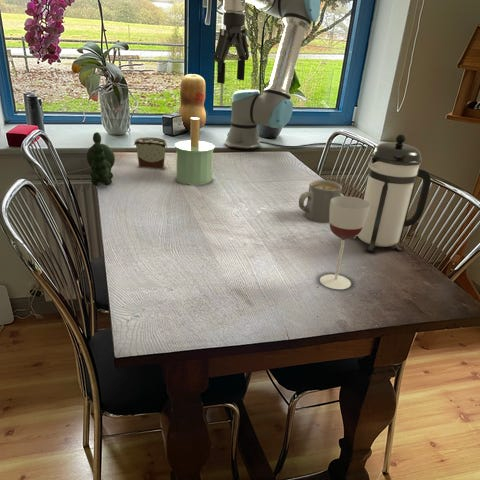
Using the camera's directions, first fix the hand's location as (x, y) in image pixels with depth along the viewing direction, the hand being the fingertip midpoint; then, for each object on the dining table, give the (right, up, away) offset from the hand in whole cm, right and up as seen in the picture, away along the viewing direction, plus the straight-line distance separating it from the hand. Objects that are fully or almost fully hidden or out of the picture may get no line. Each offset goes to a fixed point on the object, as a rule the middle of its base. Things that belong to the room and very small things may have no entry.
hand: (230, 81), depth 179 cm
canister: (-13, -35, +1) cm, 38 cm away
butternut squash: (-20, +6, +64) cm, 67 cm away
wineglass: (+27, -77, -58) cm, 100 cm away
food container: (-30, -27, +12) cm, 42 cm away
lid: (-12, -26, -6) cm, 29 cm away
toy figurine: (-45, -38, -6) cm, 59 cm away
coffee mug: (+27, -53, -22) cm, 64 cm away
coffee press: (+43, -64, -37) cm, 86 cm away
